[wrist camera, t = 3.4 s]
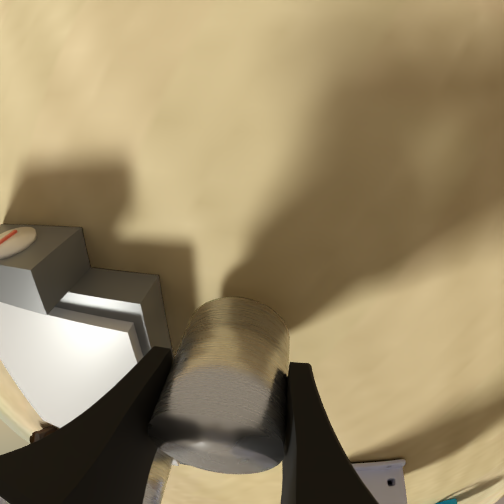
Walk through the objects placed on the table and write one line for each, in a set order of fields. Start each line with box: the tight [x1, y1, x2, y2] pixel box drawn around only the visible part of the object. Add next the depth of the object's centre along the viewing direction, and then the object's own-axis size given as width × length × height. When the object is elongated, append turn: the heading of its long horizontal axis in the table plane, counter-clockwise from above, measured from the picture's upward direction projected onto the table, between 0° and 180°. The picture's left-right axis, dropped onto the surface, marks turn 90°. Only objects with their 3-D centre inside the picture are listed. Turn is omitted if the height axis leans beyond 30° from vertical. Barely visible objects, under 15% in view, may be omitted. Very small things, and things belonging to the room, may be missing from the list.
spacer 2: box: [148, 297, 290, 474], centre depth 10 cm, size 4×4×5 cm
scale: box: [0, 224, 190, 466], centre depth 15 cm, size 13×17×4 cm
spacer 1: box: [143, 448, 174, 504], centre depth 14 cm, size 4×4×5 cm
